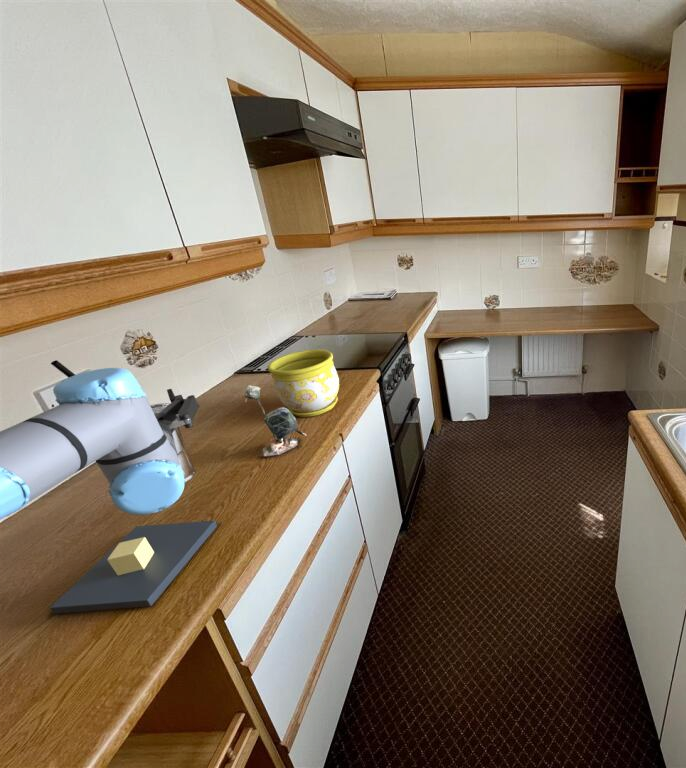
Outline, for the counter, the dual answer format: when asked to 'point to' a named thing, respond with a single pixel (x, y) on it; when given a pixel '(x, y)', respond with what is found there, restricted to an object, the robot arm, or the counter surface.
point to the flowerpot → (306, 382)
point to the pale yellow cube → (131, 556)
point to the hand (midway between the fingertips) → (137, 404)
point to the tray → (139, 586)
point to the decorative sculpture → (276, 426)
